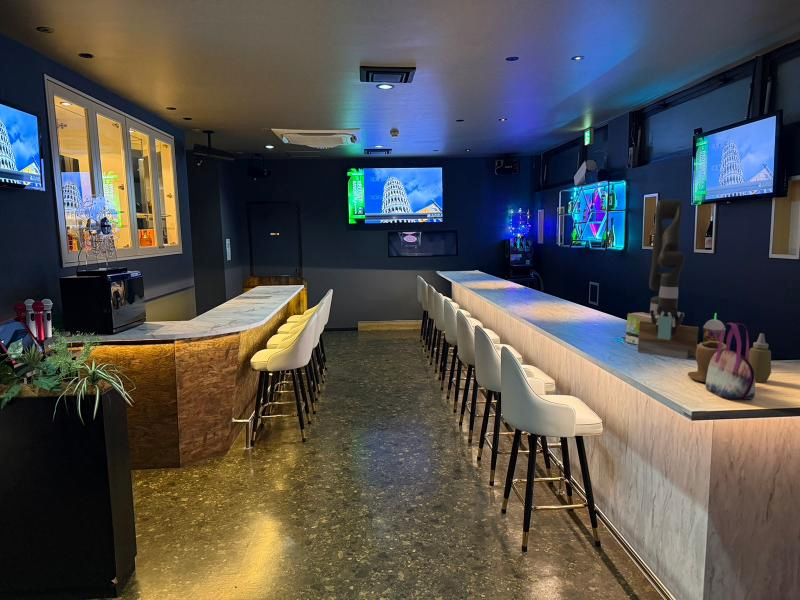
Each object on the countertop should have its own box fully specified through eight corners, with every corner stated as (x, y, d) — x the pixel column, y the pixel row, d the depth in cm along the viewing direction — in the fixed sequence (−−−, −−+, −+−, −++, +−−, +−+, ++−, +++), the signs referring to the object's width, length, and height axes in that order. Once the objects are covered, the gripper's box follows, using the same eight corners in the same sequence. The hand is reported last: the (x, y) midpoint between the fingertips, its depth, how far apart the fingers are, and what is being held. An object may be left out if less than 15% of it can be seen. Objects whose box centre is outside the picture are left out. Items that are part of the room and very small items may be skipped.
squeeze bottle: (770, 385, 191) (776, 336, 189) (744, 381, 195) (749, 334, 193) (769, 379, 198) (774, 333, 195) (743, 376, 202) (748, 330, 200)
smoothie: (702, 359, 228) (706, 314, 225) (699, 355, 235) (703, 311, 233) (724, 361, 225) (728, 315, 222) (720, 356, 232) (725, 312, 230)
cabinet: (660, 336, 240) (662, 310, 238) (672, 337, 236) (674, 312, 235) (657, 338, 235) (659, 312, 234) (669, 339, 232) (671, 313, 231)
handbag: (695, 385, 191) (701, 317, 187) (722, 384, 191) (728, 317, 188) (734, 405, 170) (742, 329, 166) (764, 404, 170) (773, 329, 166)
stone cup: (700, 386, 190) (704, 345, 187) (682, 376, 201) (686, 338, 199) (742, 386, 190) (746, 345, 188) (722, 376, 201) (725, 338, 199)
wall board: (638, 347, 249) (640, 320, 247) (696, 355, 234) (698, 327, 232) (633, 351, 241) (635, 323, 240) (691, 360, 226) (694, 330, 225)
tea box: (624, 342, 261) (626, 312, 259) (639, 340, 265) (641, 311, 263) (650, 348, 248) (652, 317, 245) (665, 346, 252) (667, 316, 250)
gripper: (688, 297, 232) (684, 334, 234) (653, 294, 241) (650, 330, 243) (684, 298, 226) (681, 337, 228) (648, 295, 235) (646, 333, 237)
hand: (665, 333), depth 236 cm, fingers closed on cabinet, 5 cm apart
